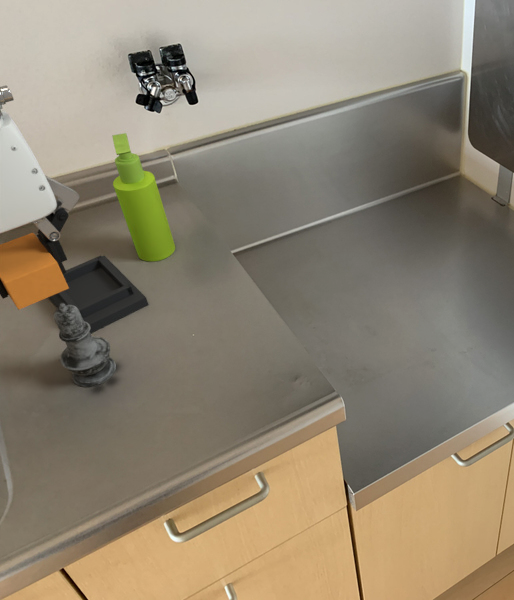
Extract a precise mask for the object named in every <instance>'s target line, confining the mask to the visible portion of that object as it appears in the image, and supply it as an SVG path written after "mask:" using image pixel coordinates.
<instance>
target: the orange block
mask: <svg viewBox="0 0 514 600" xmlns="http://www.w3.org/2000/svg"><path fill="white" fill-rule="evenodd" d="M0 279H1V281H2V283H3V285H4V286H5V288H6V290H7V292H8V294H9V295H8V297H9V298H10V300H11V301H12V302H13V304H14V305H15V307H16V308H17V310H19V311H20V310H21V309H24V308H26V307H29V306H31V305H33V304H36V303H38V302H40V301H43V300H46V299H47V298H48V297H50V296H52V295H55V294H57V293H59V292H62V291H64V290H66V289H69V287H68V285H67V283H66V281H65V278H64V276H63V274H62V272H61V270H60V267H59V265H58V263H57V262H56V260H55V259H54V258H53V257H52V255H51V254H50V253H49V252H48V251H47V249H46V248H45V247H44V246H43V245H42V243H41V242H40V241H39V239H38V237H37V235H36V234H35V233H34V232H30V233H28V234H25V235H22V236H20V237H16V238H14V239H12V240H8V241H6V242H4V243H3V242H2V243H1V244H0ZM48 299H49V298H48Z"/></svg>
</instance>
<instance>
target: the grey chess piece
mask: <svg viewBox="0 0 514 600" xmlns="http://www.w3.org/2000/svg"><path fill="white" fill-rule="evenodd" d="M53 319H54V322H55V324H56V326H57V327H58V330H59V333H58V336H59V339H60V340H61V341H62V342H64V343H65V345H66V348H65V349H64V350H63V351H62V352H61V355H60V359H59V361H60V364H61V366H63V367H64V369H67V370H68V371H69V372H70V373H72V381H73V383H75V385H77V386H79V387H82V388H92V387H96V386H97V387H98V386H100V385H102V384H103V383H105V382H107V381H108V380H109V379H110V378H112V377H113V375H114V374H115V373H116V369H117V365H116V362H115V360H114V359H113V358H111V357H110V353H111V345H110V342H109V341H108V340H107V339H106V338H103V337H101V336H93V335H92V333H90V325H89V324H88V323H87V322H85V321H84V320H83V318H82V316H81V314H80V311H79V309H78V308H77V307H76V306H73V305H65V304H63V303H60V305H59V308H58V309H57V308H56V310H55V311H54V313H53Z"/></svg>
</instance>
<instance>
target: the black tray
mask: <svg viewBox="0 0 514 600" xmlns="http://www.w3.org/2000/svg"><path fill="white" fill-rule="evenodd" d="M65 270H66V273H64V274H63V276H64V278H65V281H66V283H67V285H68V287H69V289H66V290H64V291H62V292H59V293H57V294H55V295H52V296H50V297H48V299H49V300H50V301H51V303H52V304H53V305H54V307H55V308H56V310H57V309H58V308H59V305H60V303H63V304H65V305H73V306H76V307H77V308H78V309H79V311H80V314H81V316H82V318H83V320H84V321H85V322H87V323H88V324H89V325H90V333H91V334H93V333H94V332H96V331H98V330H100V329H103V328H105V327H107V326H109V325H111V324H113V323H114V322H116V321H119V320H121V319H123V318H125V317H127V316H129V315H131V314H133V313H135V312H137V311H139V310H141V309H143V308H145V307H147V306H149V302H148V299H147V297H146V296H145V294H143V293H142V291H140V289H139V288H137V286H135V284H134V283H132V281H130V279H129V278H128V277H127V276H126V275H125V274H124V273H123V272H121V270H120V269H118V267H117V266H116V265H115V264H113V262H112V261H111V260H110V259H109V258H108V257H107V256H106V255H105V254H104V255H98V256H96V257H94V258H91V259H89V260H87V261H84V262H81V263H80V264H78V265H75V266H72V267H70V268H68V269H65Z"/></svg>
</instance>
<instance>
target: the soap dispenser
mask: <svg viewBox="0 0 514 600" xmlns="http://www.w3.org/2000/svg"><path fill="white" fill-rule="evenodd" d="M111 137H112V142H113V146H114V150H115V154H116V155H117V156H116V158H114V164H115V167H116V170H117V172H118V176H117V177H115V178H114V180H113V181H112V186H113V189H114V192H115V194H116V198H117V200H118V203H119V206H120V208H121V211H122V214H123V217H124V220H125V223H126V226H127V228H128V231H129V234H130V237H131V239H132V243H133V245H134V249H135V252H136V254H137V256H138V258H139V259H140V260H141V261H145V262H151V263H152V262H159V261H163V260H165V259H167V258H169V257H170V256H172V255H173V254H174V252H175V251H176V244H175V241H174V237H173V233H172V231H171V227H170V224H169V221H168V217H167V214H166V211H165V207H164V204H163V201H162V197H161V194H160V191H159V187H158V184H157V181H156V177H155V174H154V173H152V172H151V171H148V170H144V168H143V166H142V162H141V159H140V156H139V155H138V154H137V153H132V149H131V147H130V143H129V139H128V135H127V132H124V133H118V134H113V135H112V136H111Z"/></svg>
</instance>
